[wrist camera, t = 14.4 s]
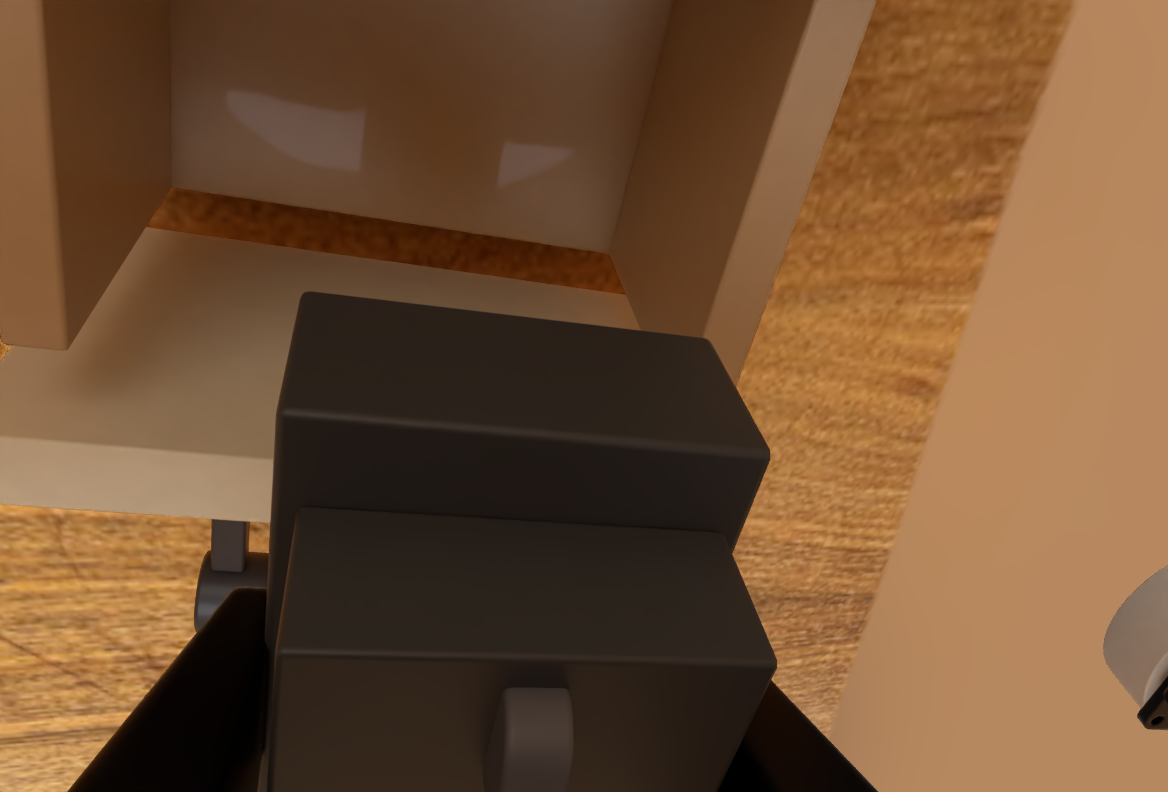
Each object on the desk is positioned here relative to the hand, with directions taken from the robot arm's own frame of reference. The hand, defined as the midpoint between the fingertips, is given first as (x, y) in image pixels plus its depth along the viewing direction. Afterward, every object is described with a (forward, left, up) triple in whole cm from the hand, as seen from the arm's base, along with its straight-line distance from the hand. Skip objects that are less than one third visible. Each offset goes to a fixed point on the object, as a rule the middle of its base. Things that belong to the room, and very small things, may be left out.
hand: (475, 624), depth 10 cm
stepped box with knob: (0, 0, -1) cm, 1 cm away
